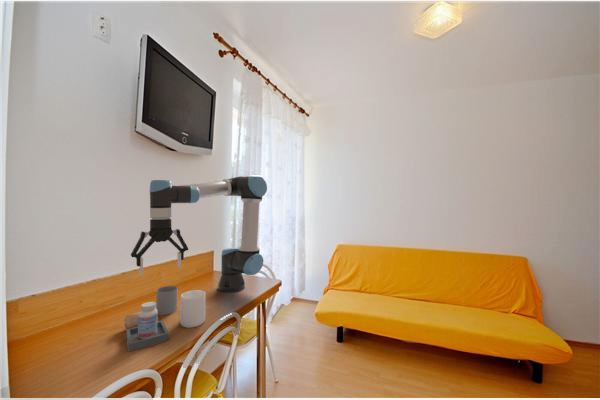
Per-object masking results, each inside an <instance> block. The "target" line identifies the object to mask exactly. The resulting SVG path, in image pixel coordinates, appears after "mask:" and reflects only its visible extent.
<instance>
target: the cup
mask: <svg viewBox="0 0 600 400" xmlns="http://www.w3.org/2000/svg"><path fill="white" fill-rule="evenodd" d="M178 290H179V289H178V286H176V285H165V286H162V287H158V288H157V289H156V298H155V300H156V301H155V303H156V308H155V309H157V311H158V316H167V315H171V314H174V313H176V312H177V310H178Z"/></svg>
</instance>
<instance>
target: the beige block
mask: <svg viewBox="0 0 600 400" xmlns="http://www.w3.org/2000/svg"><path fill="white" fill-rule="evenodd" d="M139 313H140V311H137V312H134V313H131V314H128V315H125V318H124V328H125V330H126V329H130V328H134V327H138V316H139Z"/></svg>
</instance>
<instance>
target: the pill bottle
mask: <svg viewBox="0 0 600 400" xmlns="http://www.w3.org/2000/svg"><path fill="white" fill-rule="evenodd" d="M139 312H140V313H139V316H138V337H139V338H140V339H145V338H148V337H152V336H155V335H156V333H157V322H158V316H159V315H158V311H157V309H156V301H147V302H144V303H142V304H141V305H140V311H139Z"/></svg>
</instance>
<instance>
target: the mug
mask: <svg viewBox="0 0 600 400" xmlns="http://www.w3.org/2000/svg"><path fill="white" fill-rule="evenodd" d="M206 294H207V293H206V291H205V290H199V289H197V290H196V289H195V290H188V291H186V292H183V293H182V294H181V295H180V315H179V317H180V318H179V321H180V324H179V325H180V326H182V327H183V328H185V329H186V328H188V329H190V328H191V329H192V328H196V327H200V326H201V325H202V324H203V323H205V321H206V300H207V299H206V296H207V295H206Z"/></svg>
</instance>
